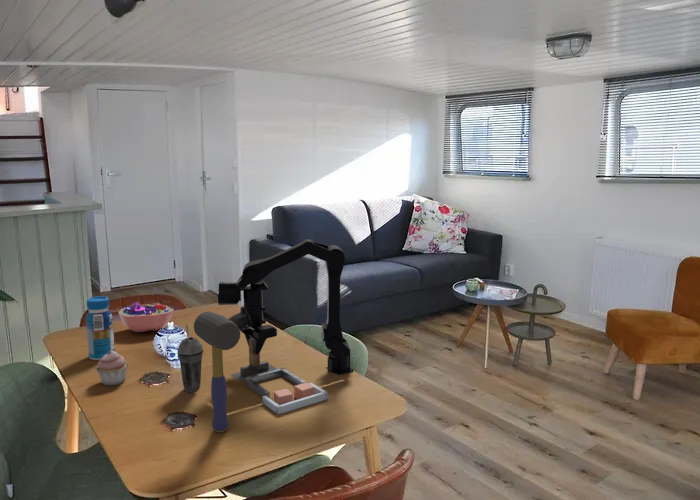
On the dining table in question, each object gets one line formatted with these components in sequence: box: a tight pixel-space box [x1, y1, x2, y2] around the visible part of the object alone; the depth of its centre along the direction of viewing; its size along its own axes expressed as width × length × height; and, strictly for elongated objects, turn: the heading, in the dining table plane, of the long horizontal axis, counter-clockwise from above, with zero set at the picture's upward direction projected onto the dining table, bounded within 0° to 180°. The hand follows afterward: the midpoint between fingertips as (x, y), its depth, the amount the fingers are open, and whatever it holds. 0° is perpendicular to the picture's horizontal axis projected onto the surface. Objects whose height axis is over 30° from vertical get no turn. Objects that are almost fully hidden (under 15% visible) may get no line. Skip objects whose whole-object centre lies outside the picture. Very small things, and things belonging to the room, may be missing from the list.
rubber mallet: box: [193, 311, 241, 433], centre depth 145 cm, size 12×8×30 cm, turn 39°
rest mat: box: [230, 364, 278, 382], centre depth 183 cm, size 14×6×1 cm, turn 127°
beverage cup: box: [177, 324, 204, 393], centre depth 170 cm, size 7×7×20 cm
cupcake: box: [95, 350, 130, 387], centre depth 176 cm, size 9×9×10 cm
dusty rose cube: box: [273, 388, 294, 405], centre depth 163 cm, size 4×4×4 cm
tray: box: [261, 382, 329, 415], centre depth 164 cm, size 16×8×2 cm, turn 127°
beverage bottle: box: [85, 295, 116, 361], centre depth 196 cm, size 8×8×20 cm
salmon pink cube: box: [293, 381, 315, 400], centre depth 167 cm, size 4×4×4 cm
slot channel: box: [244, 367, 307, 399], centre depth 173 cm, size 13×13×2 cm
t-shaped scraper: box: [239, 338, 270, 377], centre depth 182 cm, size 9×2×11 cm, turn 127°
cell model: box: [118, 301, 174, 333], centre depth 223 cm, size 17×20×11 cm
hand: (254, 352), depth 182 cm, fingers open, 3 cm apart
